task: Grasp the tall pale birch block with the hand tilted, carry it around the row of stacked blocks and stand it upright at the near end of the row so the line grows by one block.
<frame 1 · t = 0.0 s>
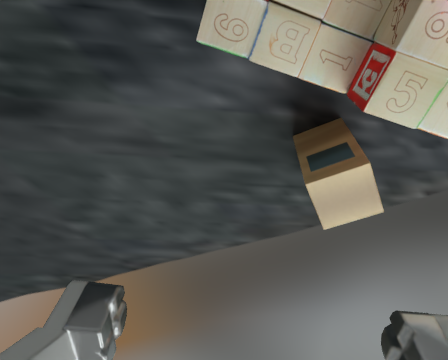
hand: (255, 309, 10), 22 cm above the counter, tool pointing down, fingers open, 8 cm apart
stack of blocks: (350, 30, 26), on the counter
birch block: (321, 143, 31), on the counter
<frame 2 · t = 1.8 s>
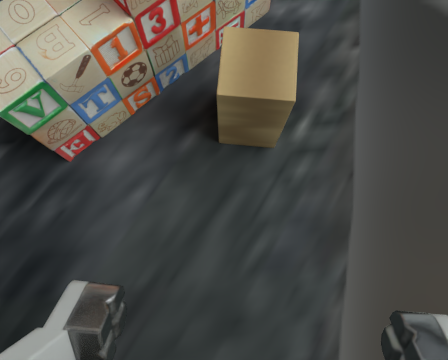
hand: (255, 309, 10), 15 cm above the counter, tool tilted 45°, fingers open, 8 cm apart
stack of blocks: (154, 63, 29), on the counter
birch block: (247, 123, 28), on the counter
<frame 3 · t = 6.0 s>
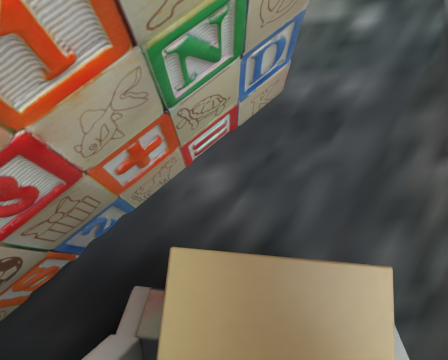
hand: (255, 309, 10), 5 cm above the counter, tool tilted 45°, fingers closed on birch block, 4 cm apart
stack of blocks: (77, 186, 16), on the counter
birch block: (245, 309, 15), on the counter, touching gripper
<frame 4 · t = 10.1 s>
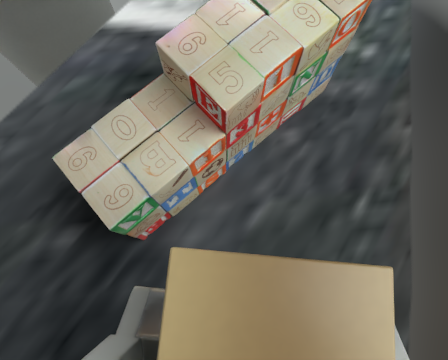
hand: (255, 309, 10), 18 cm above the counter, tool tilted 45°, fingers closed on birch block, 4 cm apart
stack of blocks: (217, 140, 31), on the counter
birch block: (245, 309, 15), point 13 cm above the counter, touching gripper
when the fingers open (5 cm above the counter, at t = 14.5 s): birch block stays where it is, on the counter.
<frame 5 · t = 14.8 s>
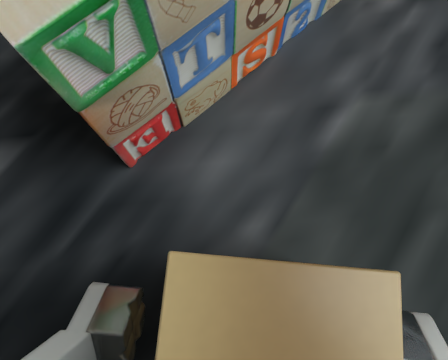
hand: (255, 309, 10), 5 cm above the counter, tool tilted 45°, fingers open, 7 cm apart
stack of blocks: (257, 9, 18), on the counter
birch block: (246, 312, 15), on the counter
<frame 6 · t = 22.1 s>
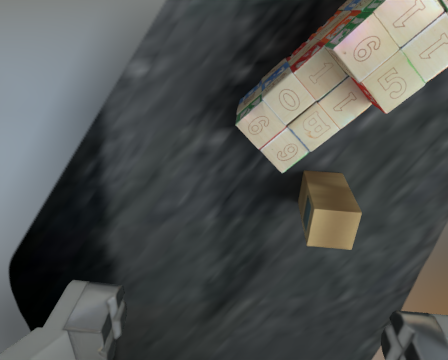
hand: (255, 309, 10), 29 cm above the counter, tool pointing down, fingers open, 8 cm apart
stack of blocks: (340, 47, 33), on the counter
birch block: (318, 184, 40), on the counter
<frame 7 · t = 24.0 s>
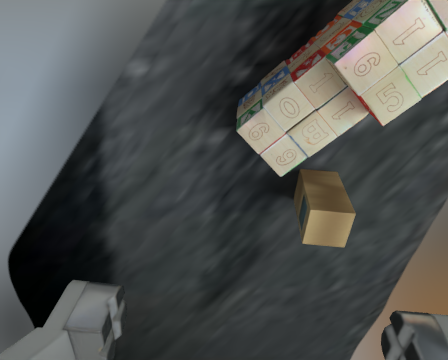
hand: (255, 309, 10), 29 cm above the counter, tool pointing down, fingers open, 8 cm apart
stack of blocks: (339, 50, 33), on the counter
birch block: (313, 182, 41), on the counter
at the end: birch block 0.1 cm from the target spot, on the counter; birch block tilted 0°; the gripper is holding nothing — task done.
